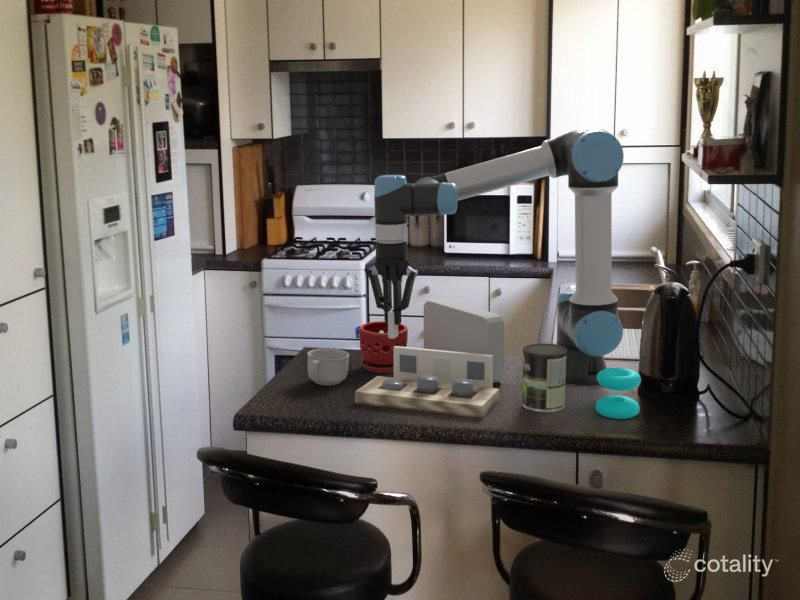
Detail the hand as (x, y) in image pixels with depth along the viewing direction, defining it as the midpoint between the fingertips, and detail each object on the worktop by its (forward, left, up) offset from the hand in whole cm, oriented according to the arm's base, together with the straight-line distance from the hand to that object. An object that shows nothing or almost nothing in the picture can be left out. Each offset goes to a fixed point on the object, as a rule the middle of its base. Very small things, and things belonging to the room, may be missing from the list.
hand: (393, 337), depth 234 cm
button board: (-9, 0, -15) cm, 18 cm away
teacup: (+21, -5, -16) cm, 27 cm away
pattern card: (-9, -11, -15) cm, 21 cm away
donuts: (-53, -7, -16) cm, 56 cm away
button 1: (0, 0, -15) cm, 15 cm away
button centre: (-9, 0, -12) cm, 15 cm away
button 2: (-18, 0, -13) cm, 22 cm away
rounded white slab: (-9, -27, -16) cm, 32 cm away
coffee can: (-36, -7, -16) cm, 40 cm away
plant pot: (+12, -23, -16) cm, 30 cm away
